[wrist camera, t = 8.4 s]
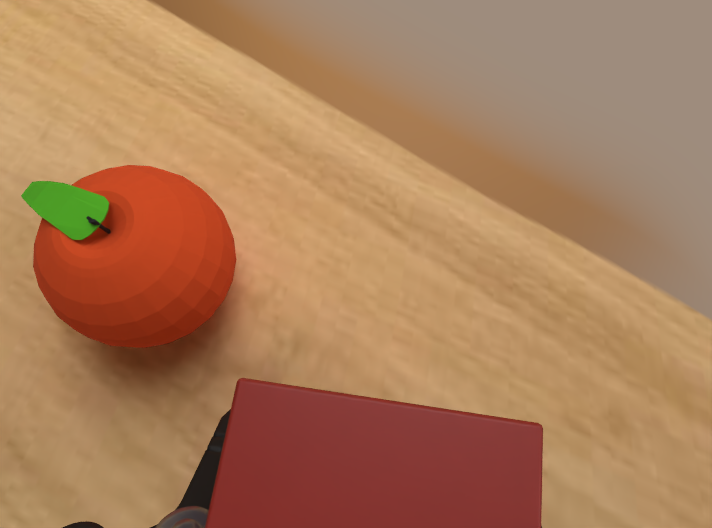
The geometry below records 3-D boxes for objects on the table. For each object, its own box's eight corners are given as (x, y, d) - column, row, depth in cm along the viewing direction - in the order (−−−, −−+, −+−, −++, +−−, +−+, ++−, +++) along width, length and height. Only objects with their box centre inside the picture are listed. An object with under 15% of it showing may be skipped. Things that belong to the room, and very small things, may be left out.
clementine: (50, 304, 20) (-102, 251, 14) (139, 181, 22) (45, 81, 16) (199, 386, 19) (114, 372, 13) (280, 249, 21) (244, 173, 14)
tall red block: (422, 572, 15) (537, 844, 6) (275, 548, 15) (149, 770, 6) (436, 416, 17) (544, 423, 7) (302, 395, 17) (236, 376, 7)
